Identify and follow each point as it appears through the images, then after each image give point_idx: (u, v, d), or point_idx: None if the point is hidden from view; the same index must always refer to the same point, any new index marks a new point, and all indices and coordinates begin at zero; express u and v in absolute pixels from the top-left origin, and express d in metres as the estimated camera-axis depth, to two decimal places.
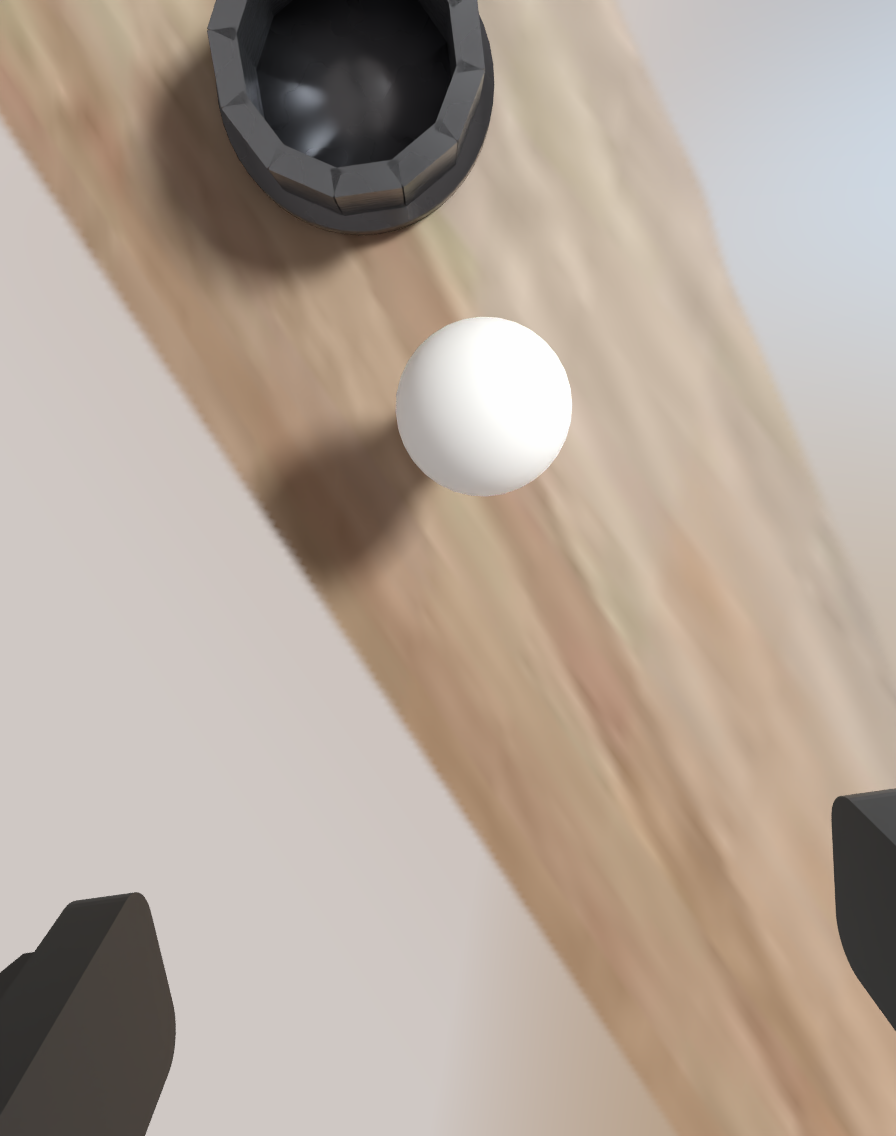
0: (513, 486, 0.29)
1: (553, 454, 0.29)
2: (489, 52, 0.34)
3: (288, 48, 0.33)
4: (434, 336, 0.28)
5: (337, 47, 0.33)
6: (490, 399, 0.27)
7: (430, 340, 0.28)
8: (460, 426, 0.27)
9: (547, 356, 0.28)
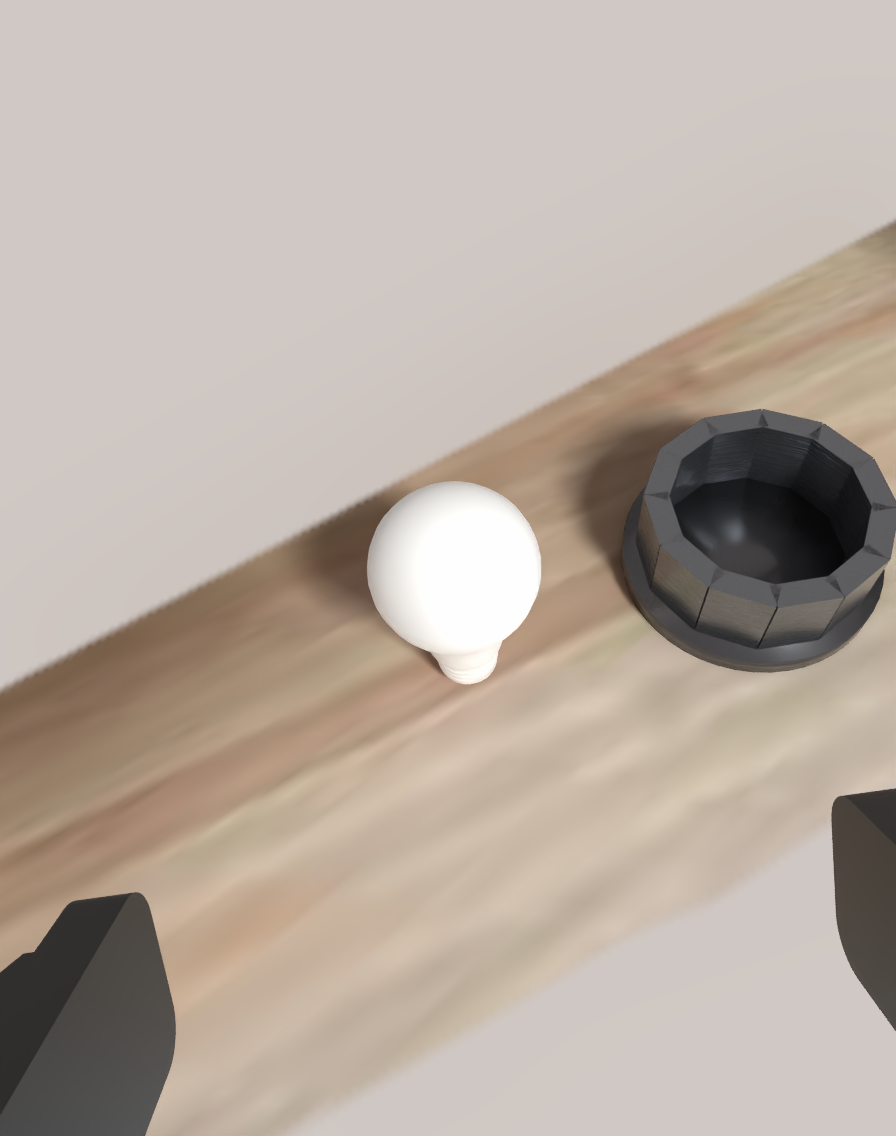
0: (373, 575, 0.29)
1: (404, 608, 0.28)
2: (803, 656, 0.34)
3: (768, 499, 0.39)
4: None
5: (777, 534, 0.38)
6: (457, 519, 0.27)
7: None
8: (431, 499, 0.28)
9: (502, 594, 0.27)
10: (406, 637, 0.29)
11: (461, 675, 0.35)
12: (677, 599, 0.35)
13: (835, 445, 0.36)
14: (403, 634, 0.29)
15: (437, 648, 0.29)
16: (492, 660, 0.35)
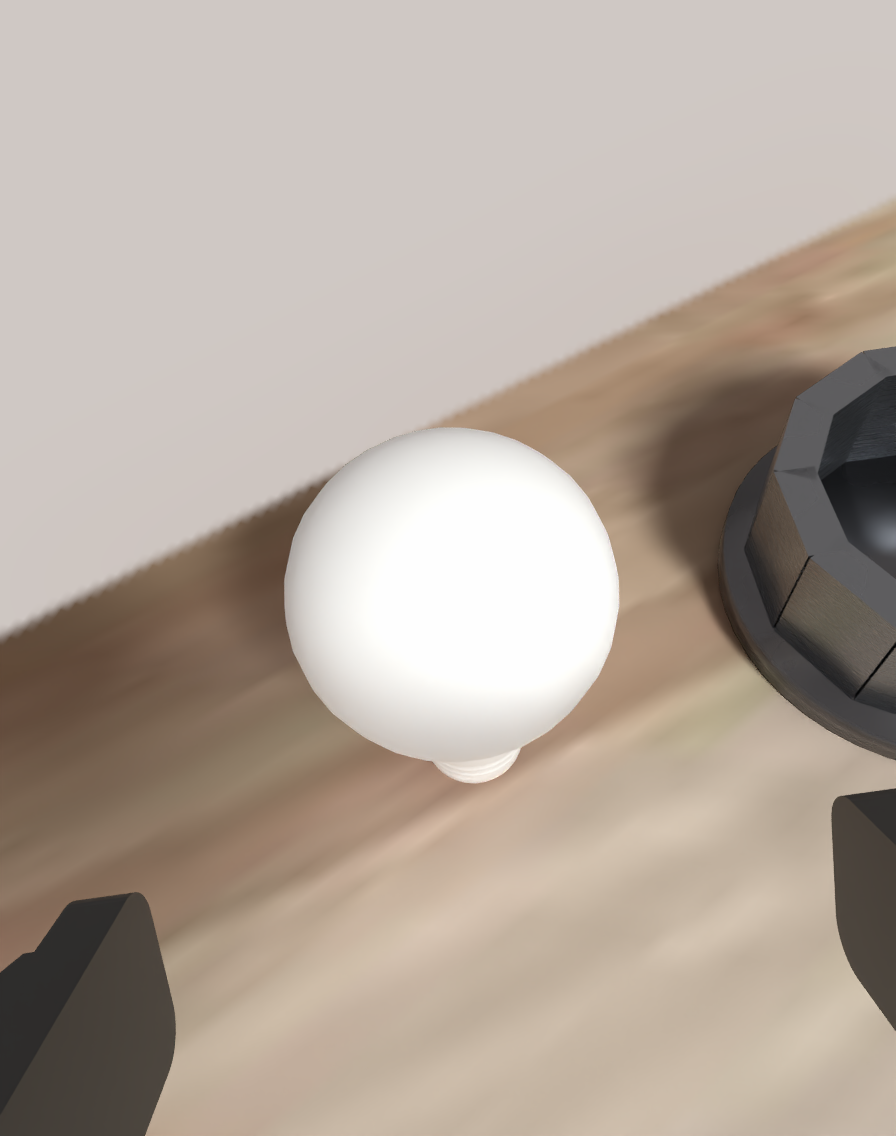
0: (291, 607, 0.14)
1: (347, 677, 0.14)
2: None
3: None
4: None
5: None
6: (458, 495, 0.13)
7: None
8: (407, 456, 0.14)
9: (549, 652, 0.13)
10: (354, 729, 0.15)
11: (462, 771, 0.20)
12: (827, 648, 0.21)
13: None
14: (348, 723, 0.15)
15: (415, 753, 0.14)
16: None
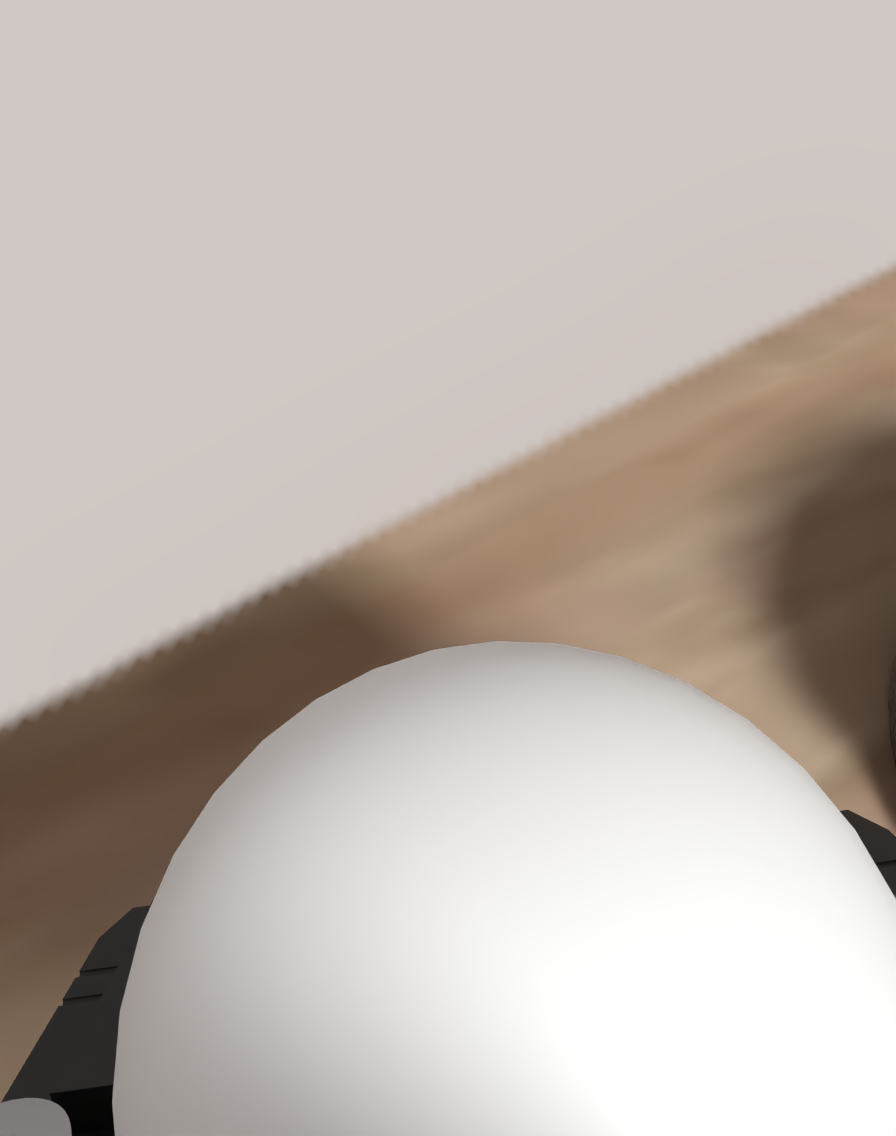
0: None
1: None
2: None
3: None
4: None
5: None
6: (581, 973, 0.04)
7: None
8: (424, 797, 0.05)
9: None
10: None
11: None
12: None
13: None
14: None
15: None
16: None
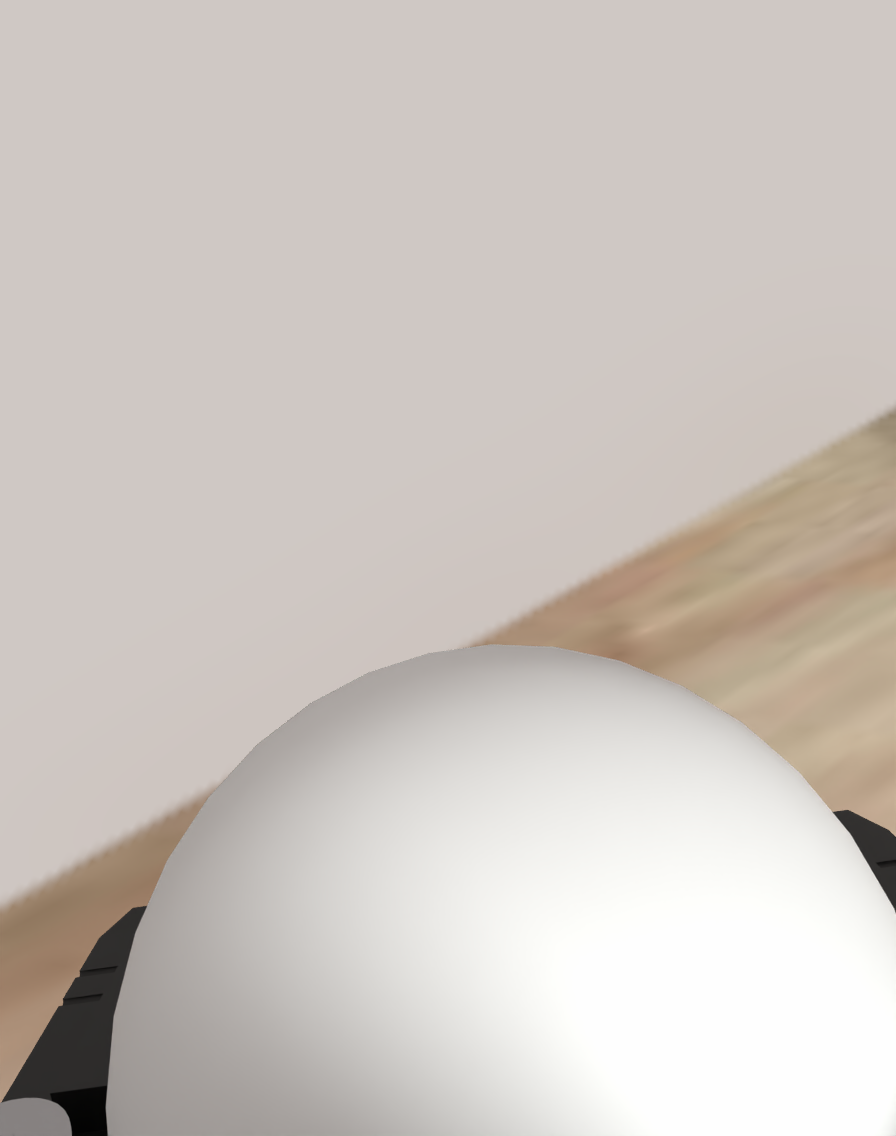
0: None
1: None
2: None
3: None
4: None
5: None
6: (574, 980, 0.04)
7: None
8: (417, 804, 0.05)
9: None
10: None
11: None
12: None
13: None
14: None
15: None
16: None
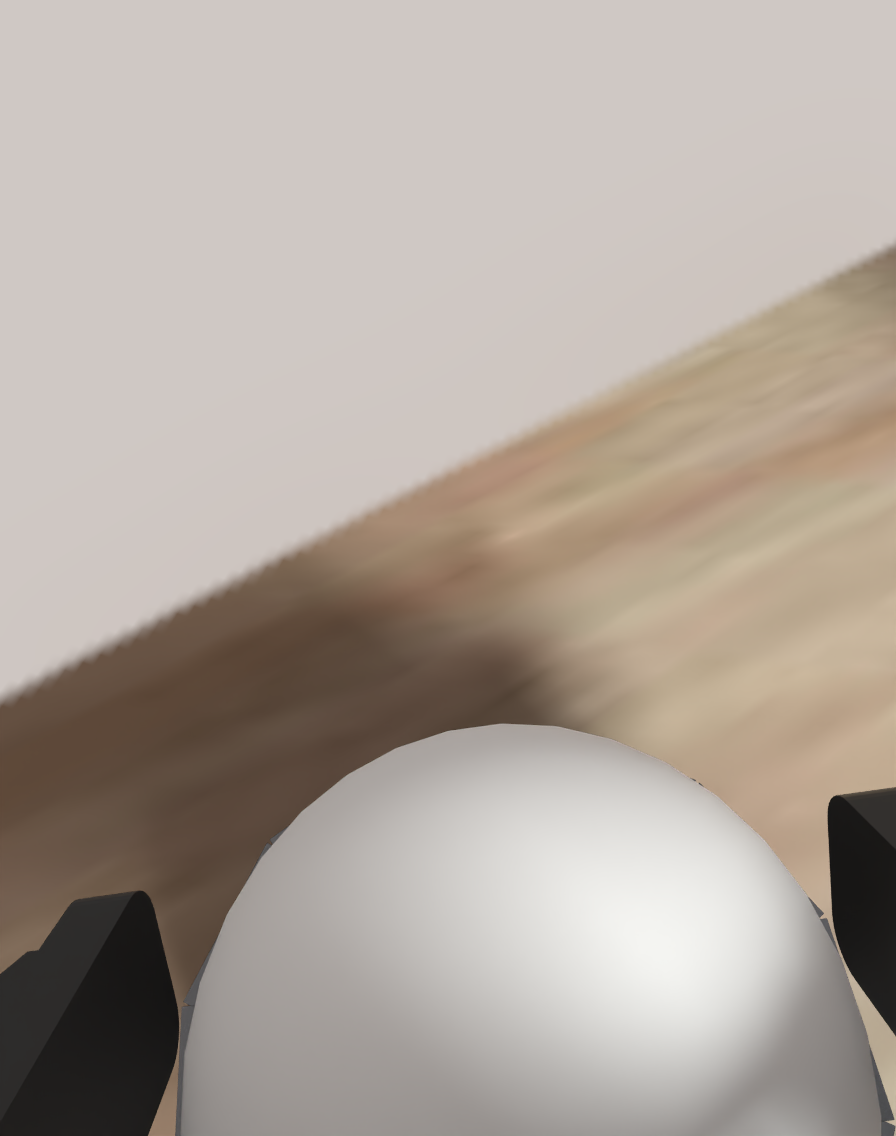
0: None
1: None
2: None
3: None
4: None
5: None
6: (577, 1023, 0.05)
7: None
8: (449, 876, 0.06)
9: None
10: None
11: None
12: None
13: None
14: None
15: None
16: None
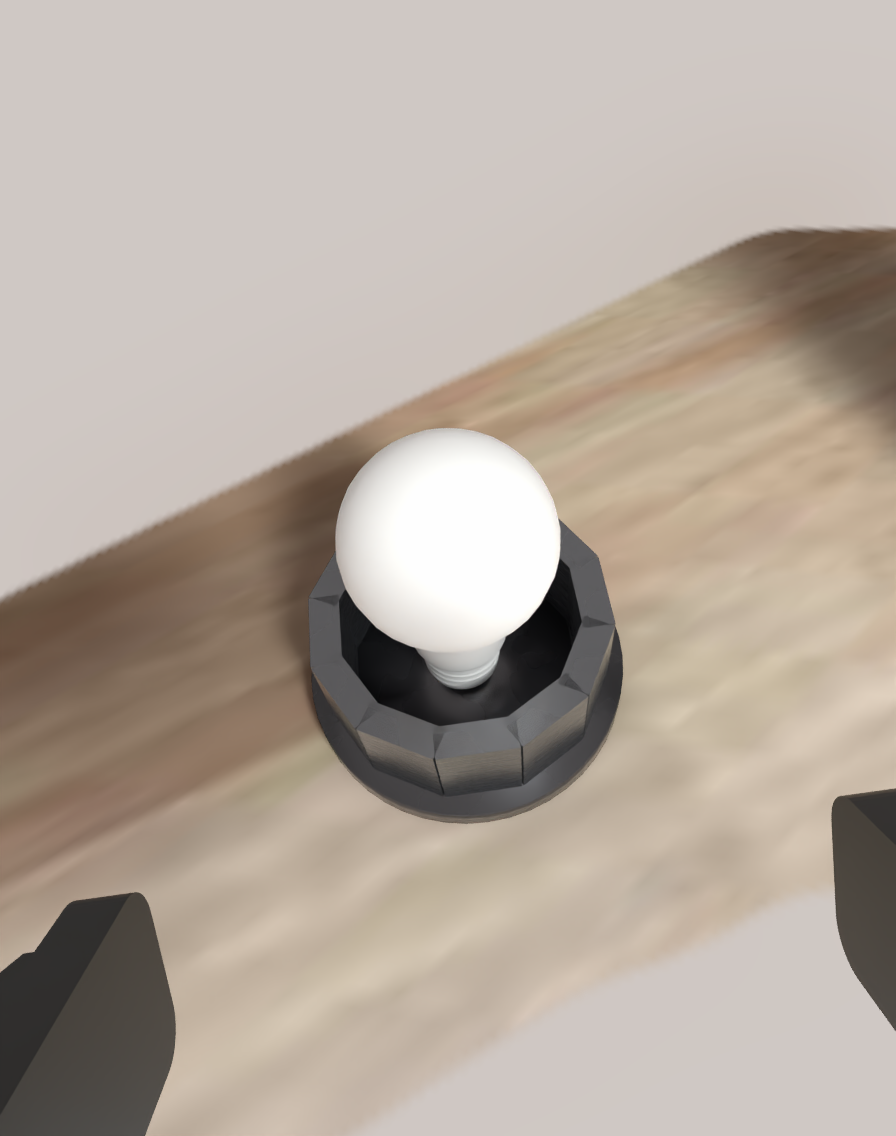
0: (343, 546, 0.22)
1: (381, 589, 0.21)
2: (499, 808, 0.27)
3: None
4: None
5: None
6: (453, 472, 0.21)
7: None
8: (420, 447, 0.21)
9: (511, 572, 0.21)
10: (384, 628, 0.22)
11: (454, 678, 0.28)
12: (349, 730, 0.28)
13: None
14: (380, 624, 0.22)
15: (424, 643, 0.22)
16: (492, 660, 0.28)
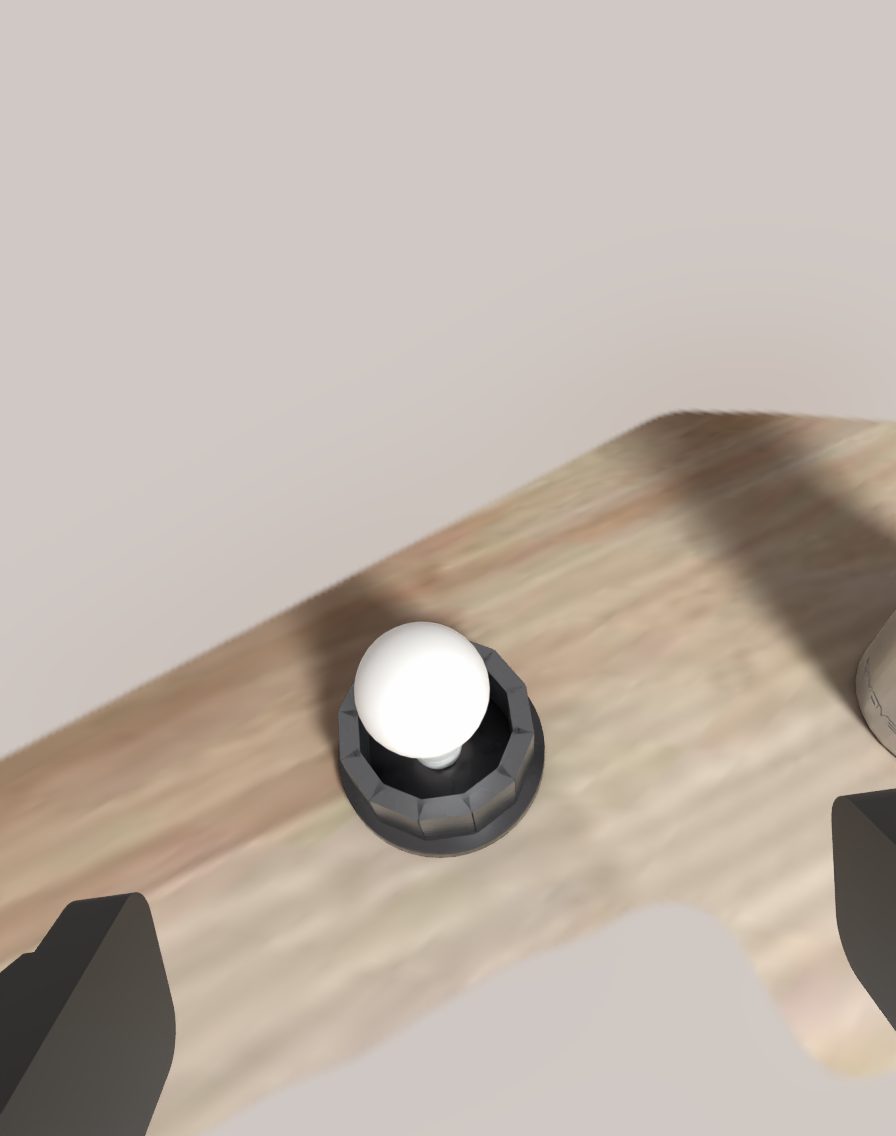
0: (358, 698, 0.37)
1: (381, 726, 0.36)
2: (461, 848, 0.42)
3: None
4: None
5: None
6: (421, 659, 0.36)
7: None
8: (403, 642, 0.37)
9: (456, 716, 0.36)
10: (383, 745, 0.37)
11: (431, 763, 0.43)
12: (364, 797, 0.43)
13: (498, 671, 0.43)
14: (381, 743, 0.37)
15: (407, 755, 0.37)
16: (456, 751, 0.43)
